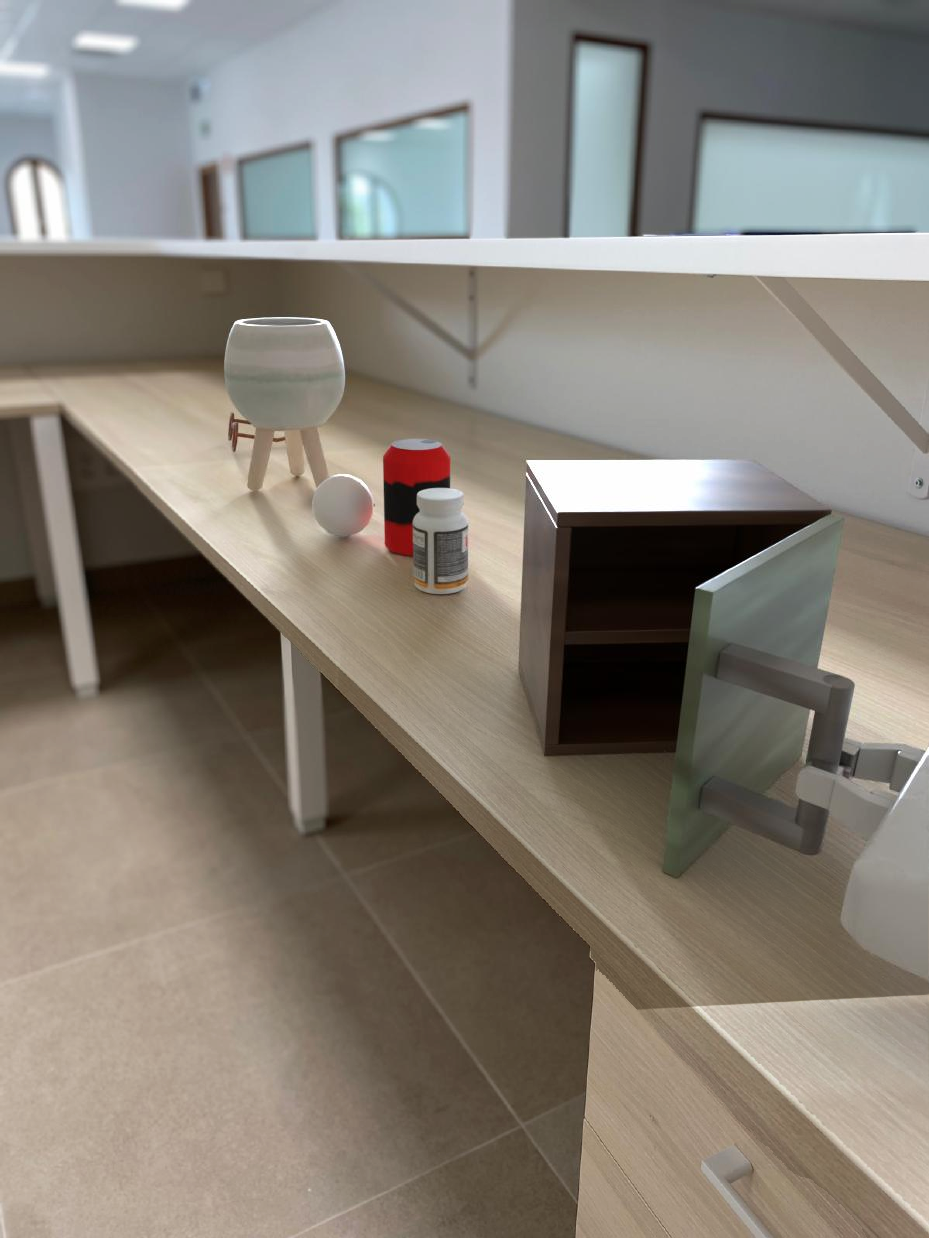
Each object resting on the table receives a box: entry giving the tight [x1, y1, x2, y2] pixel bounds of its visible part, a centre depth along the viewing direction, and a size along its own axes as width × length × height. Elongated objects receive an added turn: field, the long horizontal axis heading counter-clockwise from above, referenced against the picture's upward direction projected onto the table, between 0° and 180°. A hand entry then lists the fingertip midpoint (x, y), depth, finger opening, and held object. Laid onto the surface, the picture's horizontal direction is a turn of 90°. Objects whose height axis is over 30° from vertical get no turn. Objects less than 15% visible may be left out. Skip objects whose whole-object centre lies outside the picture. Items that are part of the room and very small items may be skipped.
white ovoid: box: [311, 473, 376, 537], centre depth 112 cm, size 10×7×7 cm
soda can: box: [382, 438, 452, 557], centre depth 106 cm, size 8×8×12 cm
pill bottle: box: [412, 487, 469, 595], centre depth 94 cm, size 6×6×10 cm
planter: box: [223, 316, 346, 492], centre depth 128 cm, size 16×16×22 cm
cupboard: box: [517, 459, 833, 757], centre depth 69 cm, size 14×18×18 cm
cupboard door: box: [661, 513, 856, 879], centre depth 54 cm, size 8×18×18 cm, turn 139°
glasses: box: [227, 411, 285, 453], centre depth 155 cm, size 13×13×5 cm
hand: (811, 763), depth 48 cm, fingers closed on cupboard door, 2 cm apart
